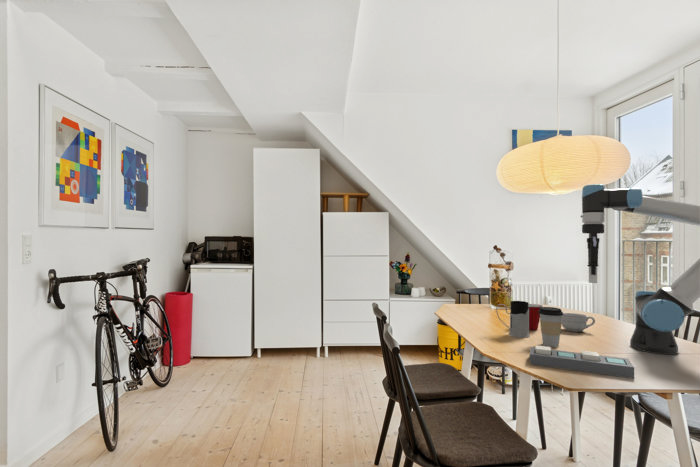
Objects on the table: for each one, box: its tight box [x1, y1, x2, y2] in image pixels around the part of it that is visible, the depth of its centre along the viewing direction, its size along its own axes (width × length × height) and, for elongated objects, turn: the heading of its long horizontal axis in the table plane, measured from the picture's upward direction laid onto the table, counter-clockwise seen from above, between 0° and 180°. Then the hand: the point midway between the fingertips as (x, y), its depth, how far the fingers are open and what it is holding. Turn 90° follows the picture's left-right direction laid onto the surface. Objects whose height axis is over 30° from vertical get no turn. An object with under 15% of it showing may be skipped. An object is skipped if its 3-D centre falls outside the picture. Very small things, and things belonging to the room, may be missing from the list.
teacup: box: [561, 312, 596, 333], centre depth 186 cm, size 14×11×8 cm
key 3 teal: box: [558, 352, 575, 358], centre depth 137 cm, size 5×5×2 cm
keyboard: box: [529, 346, 635, 379], centre depth 135 cm, size 30×10×4 cm, turn 64°
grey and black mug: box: [495, 300, 531, 339], centre depth 178 cm, size 9×14×15 cm, turn 75°
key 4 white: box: [535, 344, 552, 355], centre depth 140 cm, size 5×5×2 cm
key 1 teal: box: [606, 358, 626, 364], centre depth 130 cm, size 5×5×2 cm
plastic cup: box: [529, 303, 544, 331], centre depth 191 cm, size 11×11×12 cm
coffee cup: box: [538, 306, 564, 348], centre depth 162 cm, size 9×9×15 cm
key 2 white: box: [581, 350, 600, 361], centre depth 133 cm, size 5×5×2 cm
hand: (592, 282), depth 156 cm, fingers closed
